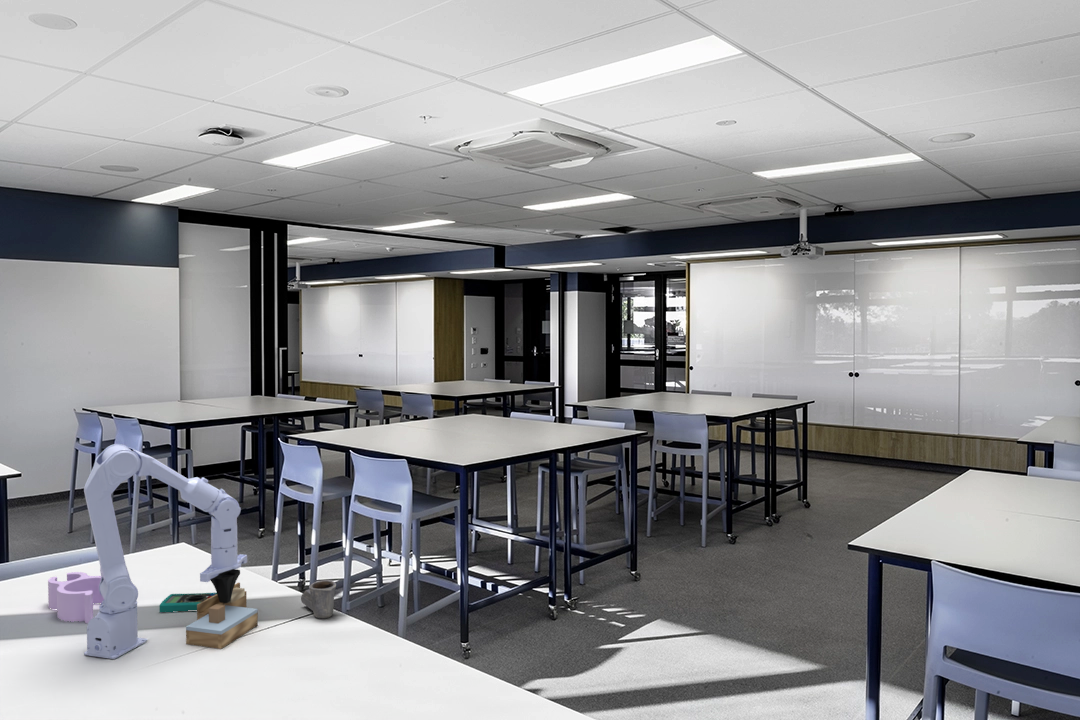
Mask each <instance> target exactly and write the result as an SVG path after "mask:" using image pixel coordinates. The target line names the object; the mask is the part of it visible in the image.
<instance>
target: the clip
mask: <svg viewBox="0 0 1080 720" xmlns="http://www.w3.org/2000/svg"><path fill="white" fill-rule="evenodd" d="M100 581H101V575H88V573H86V572H82V571H71V572H66V580H65V581H59V580H58V577H57V576H52V577H50V578H48V580H47V586H48V587H47V589H48V590H47V592H48V596H47V597H48V609H49V608H51V609H57V610H56V611H57V613H56V615H57V619H58V618H59V619H61V620H60V621H62V620H64V621H63V622H67V621H69V622H68V623H71V622H72V623H73V622H74V621H79V622H84V623H85V624H88V623H89V621H90V620H91V619H92V618H94V604H93V603H102V601H103V600H104V598H103V596H102V595H101V594H100V592H99V584H100ZM51 609H50V610H51ZM59 619H58V620H59ZM70 621H71V622H70ZM74 623H75V622H74Z"/></svg>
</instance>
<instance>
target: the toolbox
mask: <svg viewBox="0 0 1080 720" xmlns="http://www.w3.org/2000/svg"><path fill="white" fill-rule="evenodd" d="M234 588H241V582H236V583H235V585H234ZM234 588H233V589H234ZM247 602H248V601H247V591H246V590H245V596H243V597H241V598H240V599H238V600H236V601H234V602H232V603H220V602H219V598H218V595H217V594H216V595H214V596H212V597H210V598H208V599H206V600H205V601H203V602H201V603H199V604H197V611H196V621H197V620H198V619H200V618H202V617H204V616H206V615H207V614H209V608H210V607H212V606H214V605H216V604H217V605H229V606H237V607H246V608H248V607H247ZM258 616H259V615H258V612H257V613H255V614H254V615H252V616H251V617H249V618H247V619H246V620H244V621H243V622H241V623H239V624H238V625H236V626H234V627H233V628H231V629H230V630H228V631H226V632H225V633H223V634H221V635H220V634H213V633H205V632H197V631H189V630H186V629H185V644H186V645H188V646H196V647H204V648H212V649H217V650H218V649H220V650H222V649H223V648H225V647H227V646H228V645H230V644H232V643H233V642H234V641H236V640H238V639H239V638H241V637H242V636H244V635H245V634H247V633H249V632H250V631H251V630H253V629H255V628H256V627H257V626H258V623H259V622H258Z"/></svg>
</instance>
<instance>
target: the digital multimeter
mask: <svg viewBox="0 0 1080 720" xmlns="http://www.w3.org/2000/svg"><path fill="white" fill-rule="evenodd" d="M216 594H217V592H200V593H198V592H197V593H171V594H169V595H168V596H167V597H166V598H164V599H163V600H162V601H161V602H160V604H159V613H160V612H171V613H174V612H173V611H188V610H197V604H199V603H201V602H203V601H205V600H206V599H208V598H210V597H212V596H214V595H216Z"/></svg>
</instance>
